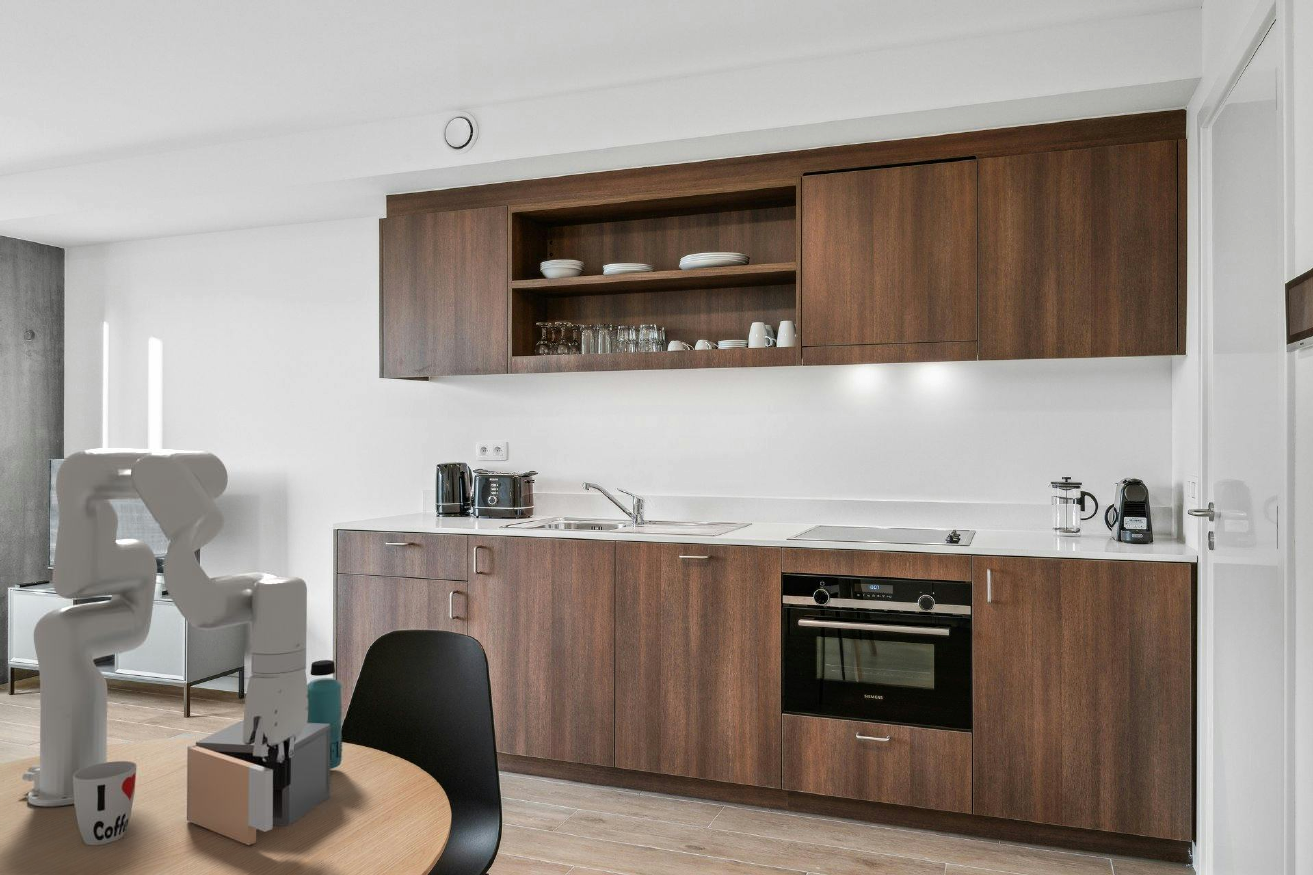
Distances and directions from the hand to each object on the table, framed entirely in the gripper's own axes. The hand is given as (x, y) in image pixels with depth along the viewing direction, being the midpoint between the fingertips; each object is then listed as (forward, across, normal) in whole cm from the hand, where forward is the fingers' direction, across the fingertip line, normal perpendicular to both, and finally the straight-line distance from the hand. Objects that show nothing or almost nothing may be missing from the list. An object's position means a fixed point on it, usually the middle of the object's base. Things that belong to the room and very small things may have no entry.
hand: (277, 786), depth 130 cm
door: (+8, 0, -8) cm, 11 cm away
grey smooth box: (+8, -11, -9) cm, 17 cm away
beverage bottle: (+8, -27, -8) cm, 30 cm away
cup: (+8, +2, -26) cm, 28 cm away
